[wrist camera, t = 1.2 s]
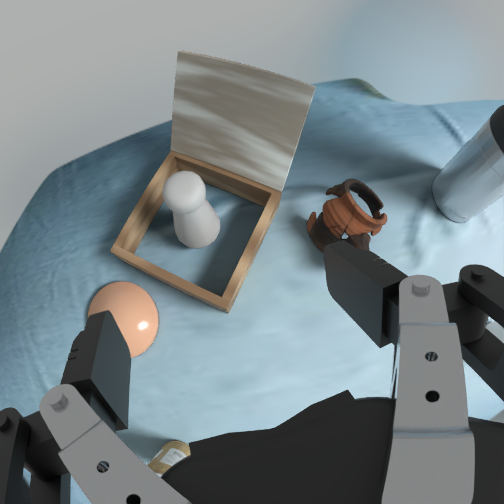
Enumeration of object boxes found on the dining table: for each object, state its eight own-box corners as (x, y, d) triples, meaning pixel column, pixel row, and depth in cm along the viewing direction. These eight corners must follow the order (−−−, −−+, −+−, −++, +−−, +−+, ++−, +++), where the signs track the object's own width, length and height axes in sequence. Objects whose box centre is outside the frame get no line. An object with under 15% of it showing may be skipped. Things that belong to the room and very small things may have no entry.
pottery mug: (295, 204, 44) (330, 164, 38) (345, 218, 48) (379, 185, 42) (314, 281, 37) (359, 244, 31) (367, 287, 42) (411, 257, 35)
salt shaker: (172, 224, 42) (144, 176, 30) (209, 205, 43) (195, 151, 30) (190, 261, 41) (166, 223, 28) (229, 240, 41) (221, 195, 29)
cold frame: (198, 135, 46) (181, 48, 30) (295, 170, 45) (316, 84, 28) (122, 261, 40) (56, 208, 24) (228, 313, 39) (214, 287, 22)
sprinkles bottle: (155, 445, 33) (116, 483, 21) (186, 435, 34) (157, 473, 21) (171, 474, 32) (141, 520, 19) (202, 464, 33) (182, 512, 20)
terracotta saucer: (110, 270, 40) (107, 269, 39) (172, 303, 39) (170, 302, 38) (80, 334, 37) (76, 334, 36) (139, 372, 36) (137, 372, 35)
